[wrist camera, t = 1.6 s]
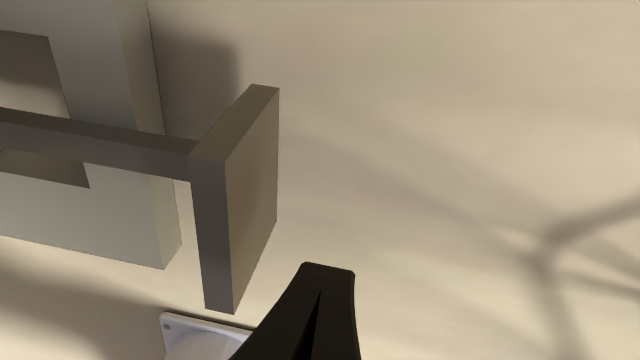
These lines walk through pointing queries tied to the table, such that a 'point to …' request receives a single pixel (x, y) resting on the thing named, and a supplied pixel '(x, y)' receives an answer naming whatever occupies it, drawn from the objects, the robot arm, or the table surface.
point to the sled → (187, 177)
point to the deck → (100, 108)
